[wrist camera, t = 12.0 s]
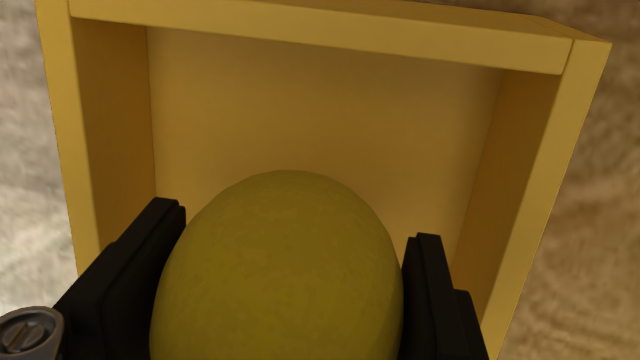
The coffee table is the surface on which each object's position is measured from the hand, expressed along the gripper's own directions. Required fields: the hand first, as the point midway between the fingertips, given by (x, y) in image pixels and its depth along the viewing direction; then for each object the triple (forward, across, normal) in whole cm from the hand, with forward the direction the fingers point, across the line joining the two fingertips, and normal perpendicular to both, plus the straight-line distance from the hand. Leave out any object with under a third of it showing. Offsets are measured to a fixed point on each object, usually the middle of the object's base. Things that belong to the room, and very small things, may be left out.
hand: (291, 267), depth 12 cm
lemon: (+3, 0, 0) cm, 3 cm away
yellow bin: (+5, 0, 0) cm, 5 cm away
